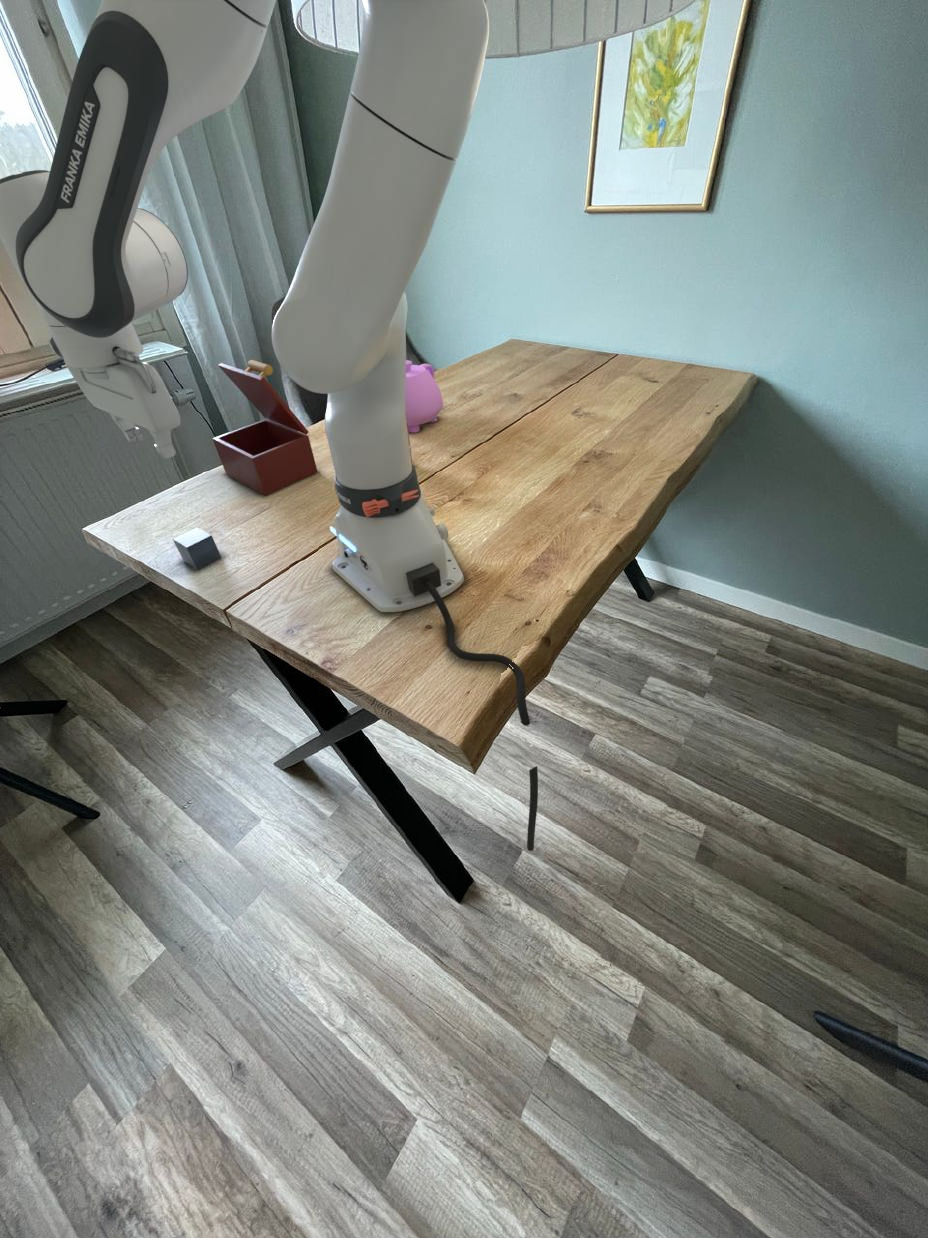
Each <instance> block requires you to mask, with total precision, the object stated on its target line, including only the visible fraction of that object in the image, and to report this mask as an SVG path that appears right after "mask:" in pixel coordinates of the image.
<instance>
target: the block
mask: <svg viewBox="0 0 928 1238" xmlns="http://www.w3.org/2000/svg"><path fill="white" fill-rule="evenodd" d="M172 541H173V543H174V546H175V547H176V549H177V551H178V553H179V555H180V557H181V559H182V560H183V562H184V563H186V564H187V565H188V566H190V567H192V568H194V569H195V570H197V571H200V570H201V569H203V568H204V567H205V568H206V567H207V566H208V565H210V564H213V563H214V562H215V561H217V560H220V559H221V558H222V555H221V553H220V551H219V548H218V546H217V544H216V542H215V539H214V537H213V535H212V534H210V533H209V532H207V531H205V530H203V529H202V528H200V527H198V526H197V527H194V528H193V529H191V530H189V531H187V532H185V533H183V534H181V535H178V536H176V537H174V538H173V539H172Z"/></svg>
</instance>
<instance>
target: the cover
mask: <svg viewBox="0 0 928 1238" xmlns="http://www.w3.org/2000/svg"><path fill="white" fill-rule="evenodd" d="M217 367H218V368H219V369H220V370H221V371H222V372H223V373H224V374H225V375H226V376H227V377H228V379H230V381H231V382H232V383H233V384H234V385H235V386H236V388H237V389H238V390H239V391H240V392H241V393H242V395H243V396H245V398H246V399H247V400H248V401H249V402H250V403H251V404H252V406H253V407H254V408H256V410H257V411H258V412H259V413H260V415H262V417H264V419H268V420H271V421H273V422H276V423H278V424H281V425H283V426H286V427H288V428H290V429H293V430H295V431H298V432H300V433H303V434H305V435H307V436H308V434H309V433H310V432H309V430H308V429H307V428H306V427H305V425H304V424H303V423H302V422H301V421H300V419H299V418H298V417H297V416H296V414H295V413H294V412H293V411H292V410H291V408H290V407H289V406H288V405H287V404H286V402H285V401H284V399H282V397H281V396H280V395H279V394H278V393H277V392H276V391H275V389H274V388H273V387H272V386H271V384H270V383H269V381H267V379H265V377H266V376H271V375H273V372H274V369H273V367H272V366H271V365H270V364H267V363H264V362H262V361H261V362H260V361H257V360H254V359H250V360H248V362H247V368H246V369H245V370H244V369H241V368H238V367H235V366H232V365H228V364H226V363H223V362H220V363H219V364H218V365H217ZM252 371H254V372H257V373H259V374H255V373H253V372H252Z"/></svg>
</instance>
